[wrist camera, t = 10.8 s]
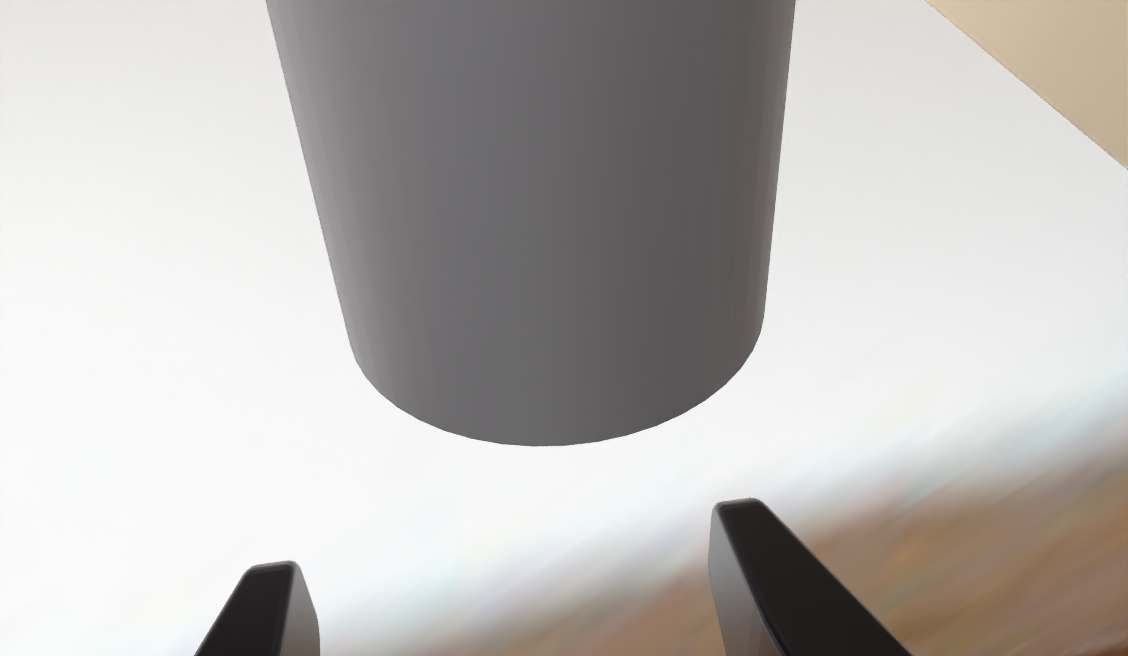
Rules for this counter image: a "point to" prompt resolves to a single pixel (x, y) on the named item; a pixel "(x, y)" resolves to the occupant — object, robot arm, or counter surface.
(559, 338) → the flap
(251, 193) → the counter surface
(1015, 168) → the counter surface
